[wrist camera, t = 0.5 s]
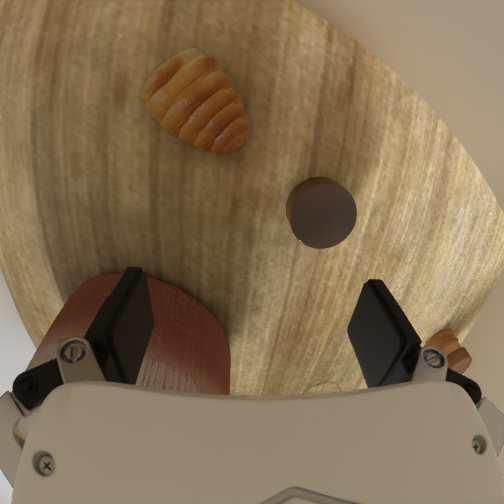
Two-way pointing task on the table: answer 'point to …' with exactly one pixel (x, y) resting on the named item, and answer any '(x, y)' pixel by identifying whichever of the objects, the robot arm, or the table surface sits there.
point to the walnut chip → (321, 212)
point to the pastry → (197, 103)
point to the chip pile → (451, 350)
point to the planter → (154, 337)
